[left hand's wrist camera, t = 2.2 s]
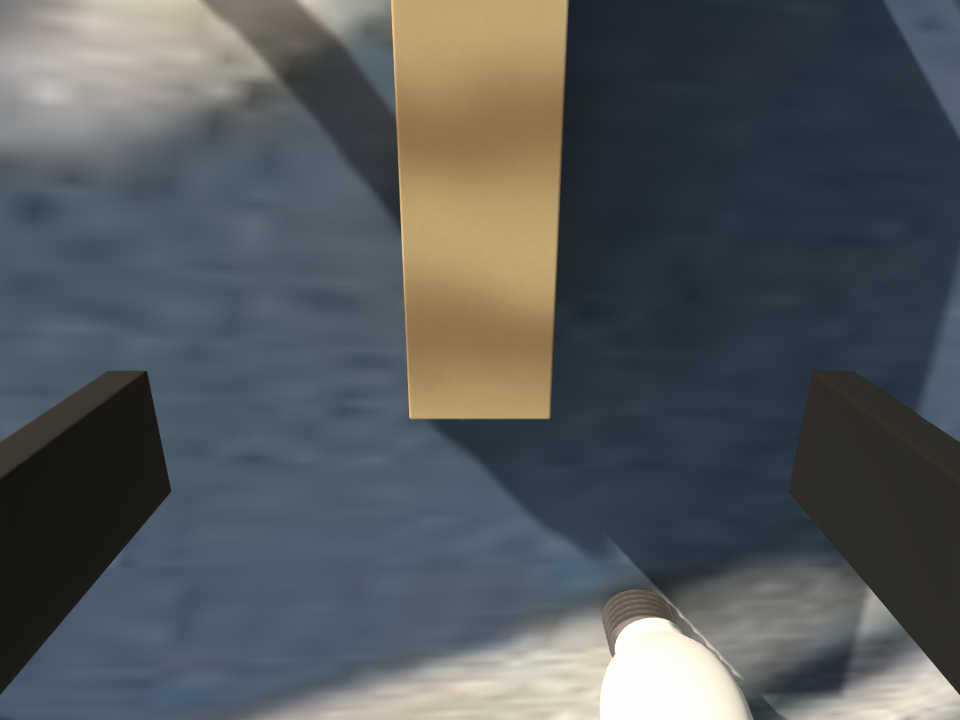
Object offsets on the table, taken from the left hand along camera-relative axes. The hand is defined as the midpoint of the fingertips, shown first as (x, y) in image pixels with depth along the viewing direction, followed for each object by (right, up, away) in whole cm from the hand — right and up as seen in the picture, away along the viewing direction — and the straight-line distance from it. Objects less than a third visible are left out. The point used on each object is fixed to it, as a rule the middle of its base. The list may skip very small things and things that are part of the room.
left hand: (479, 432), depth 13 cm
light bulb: (+9, -13, +23) cm, 28 cm away
